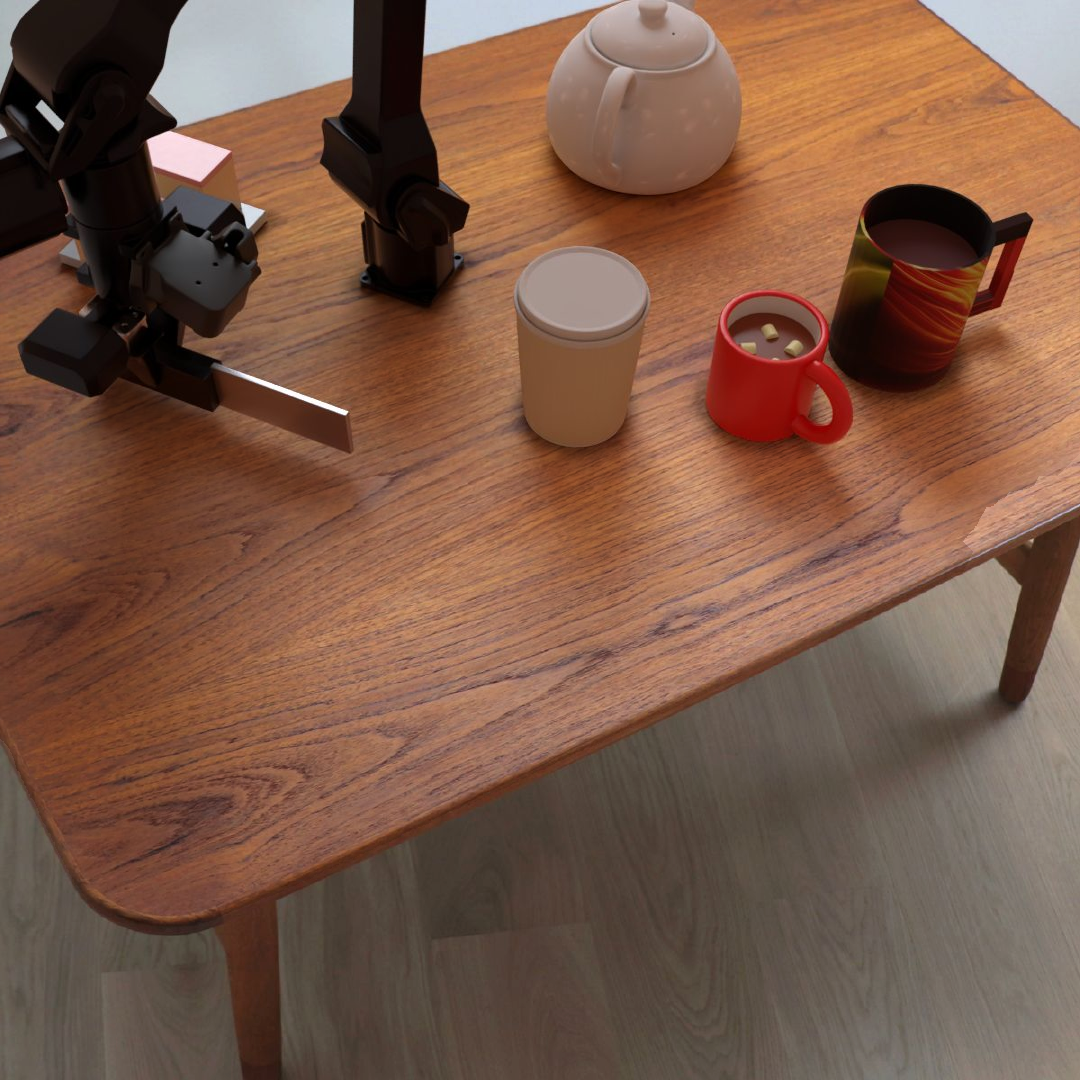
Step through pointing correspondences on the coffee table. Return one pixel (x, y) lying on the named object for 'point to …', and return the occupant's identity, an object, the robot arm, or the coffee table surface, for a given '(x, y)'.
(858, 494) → the coffee table surface
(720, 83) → the teapot
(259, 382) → the knife
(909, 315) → the mug
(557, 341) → the coffee cup
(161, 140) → the cake plate
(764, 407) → the mug
